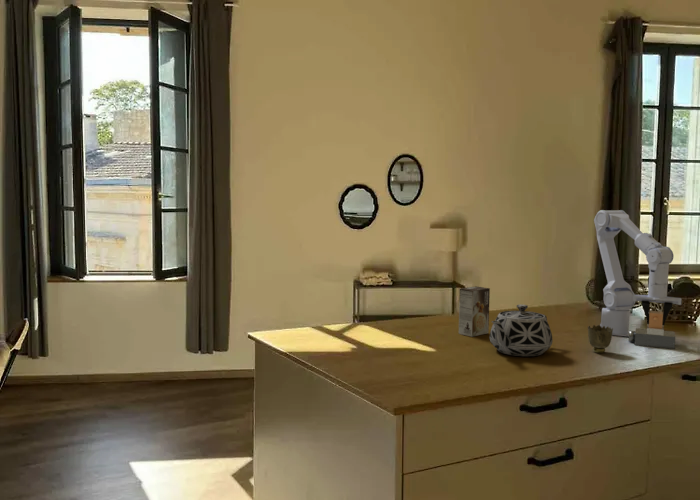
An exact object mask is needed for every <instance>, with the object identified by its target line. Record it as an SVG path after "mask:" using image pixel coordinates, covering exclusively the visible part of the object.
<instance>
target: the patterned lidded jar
mask: <svg viewBox="0 0 700 500" xmlns="http://www.w3.org/2000/svg"><path fill="white" fill-rule="evenodd" d="M528 307H529V305H527V304H521V303H520V304H517V305H516V308H517V309H518V310H504V311H501V312H499V313H498V314H497V315H496V316H497V317H496V318H495V320H492V321H491V323H492V326H491V328H490V332H489V341H490V343H491V345H492V346H493V347H494V348H495V349H496V350H497V351H498V352H499V353H502V354H505V355H509V356H515V357H536V356H541V355H543V354H544V353H545V352H546V351H548V350H549V349H550V348H551V346H552V345H553V334H552V331H551V328H550V325H549V323H548V318H547V315H545V314H542V313H539V312H534V311H530V310H529V311H527V309H528Z"/></svg>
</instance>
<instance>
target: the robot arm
mask: <svg viewBox="0 0 700 500" xmlns="http://www.w3.org/2000/svg"><path fill="white" fill-rule="evenodd" d="M593 222H594V225H595V230H596V239H597V244H598V248H599V253H600V257H601V260H602V264H603V269H604V272H605V273H604V274H605V277H606V280H607V283H606V285H605V286H604V288H603V289H602V291H603V303H604V305H605V307H602V309H601V318H600V319H601V320H600V321H601V322H600V324H599V325H600V326H601V327H603V326H605V329H606V327H609V328H611V329H612V328H613V332H612V336H617V337H618V336H619V337H628V338H629V331H630V330H629V328H630V317H631V316H630V315H631V310H632V309H633V308H632V307H634V306H635V304H636V302H641V306H642V308H643V311H644V314H645V318H646V325H647V324H649V316H650V304H651V303H656V304H657V303H658V304H663V311H662V312H663V322H662V325H664V326H665V325H666V324H665V323H666V321H667V317H668V315H669V313H670V311H671V310H672V308H673V304H674V305H679V306H682V298H681V297H674V296H668V286H669V285H668V284H669V268H670V265H671V263H672V262H673V260H674V251H673V250H672V249H671V247H669V246H664V245H662V244H661V242H658V240H656V239H655V238H654V237H653V234H652V233H648V232H642V231H641V230H640V228H639V227H638V226H637V225H636V224H635V223H634V222H633V221H632V219H630V215H629V213H628V214H627V213H626V212H625V210H623V209H620V210H619V209H617V210H604V209H601V210H599V211H598V212H597V213H596V215H595V217H594V219H593ZM621 231H622V232H624V233H625V234H626V235H628V236H629V237H630V238H631V239H632V240H634V246H635V247H636V248H638V250H640V251H641V252H642V253H643V254H644V256H645V258H646V262H647V264H648V265H647V266H648V267H647V268H648V269H649V273H648V275H649V276H648V290H647V291H648V292H647V294H635V293H634V291H633V289H632V285H630V284H629V283H628V282H626V280H625V279H624V276H623V271H622V268H621V267H622V266H621V263H620V260H619V255H618V251H617V248H616V243H615V240H614V238H615V237H616V236H617V235H618V234H619V233H620V232H621Z"/></svg>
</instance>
